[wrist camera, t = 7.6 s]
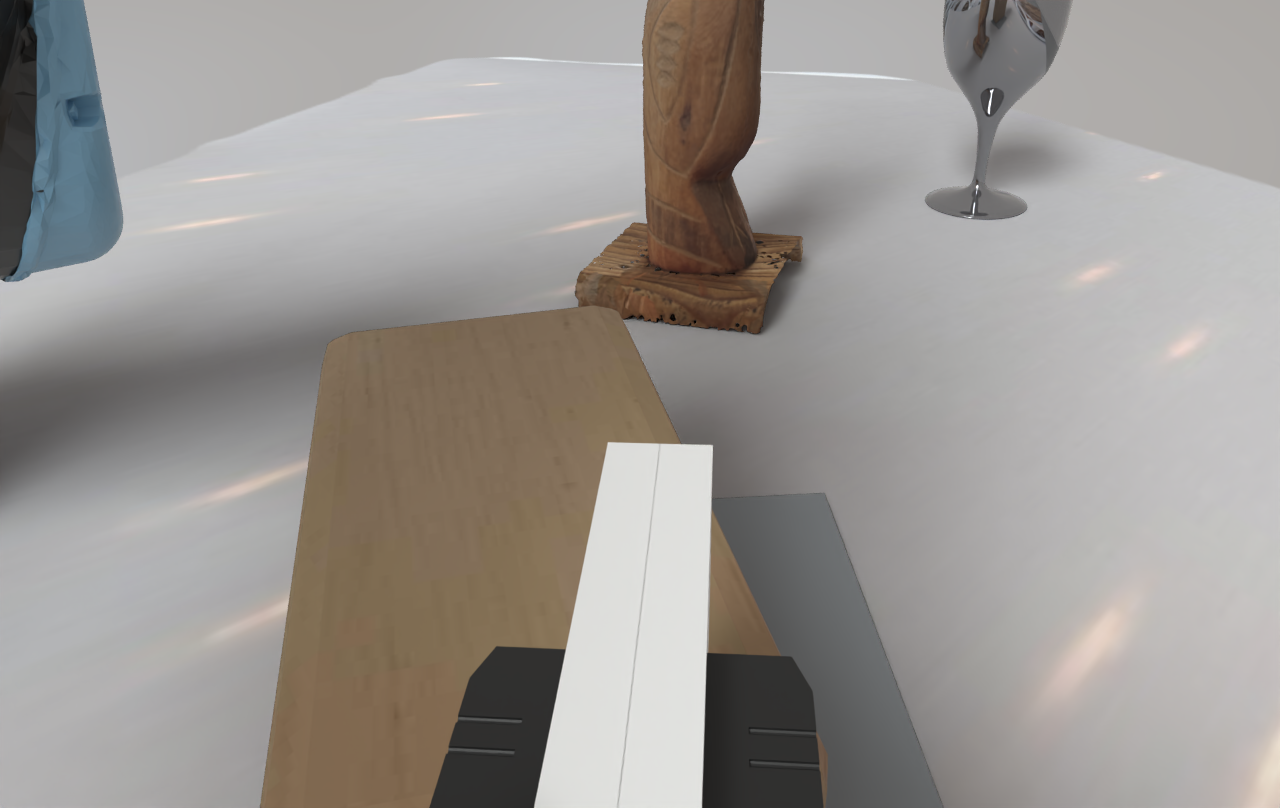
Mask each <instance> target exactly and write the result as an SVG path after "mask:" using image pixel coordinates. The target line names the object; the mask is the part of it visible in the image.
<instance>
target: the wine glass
mask: <svg viewBox="0 0 1280 808" xmlns="http://www.w3.org/2000/svg"><path fill="white" fill-rule="evenodd" d="M1072 3H1073V0H945V7H944V18H943V42H944V52H945V59H946V64H947V68H948V70H949V72H950V74H951V76H952V77H953V79H954V80H955V82H956V83H957V85H958V86H959V88H960V89H961V91H962V92H963V94H964V95H965V97H966V98H967V100H968V101H969V103H970V105H971V107H972V109H973V111H974V114H975V117H976V121H977V127H978V142H977V158H976V166H975V172H974V177H973V181H972V183H971V184H970V185H969V186H957V187H947V188H941V189H937V190H934V191H932V192H930V193H929V194H927V196H926V197H925V202H926V204H927V205H928V206H930V207H931V208H933V209H935V210H937V211H939V212H942V213H945V214H949V215H953V216H958V217H964V218H971V219H1002V218H1009V217H1014V216H1017V215H1019V214H1021V213H1023V212H1024V211H1025V210H1026V209H1027V204H1026V202H1025V201H1024V200H1023V199H1021V198H1020V197H1018V196H1016V195H1014V194H1011V193H1008V192H1005V191H1001V190H997V189H991V188H987V187H986V185H985V175H986V168H987V162H988V158H989V154H990V150H991V146H992V143H993V139H994V136H995V133H996V130H997V127H998V125H999V123H1000V121H1001V120H1002V118H1003V117H1004V115H1005V114H1006V113H1007V111H1008V110H1009V109H1010V108H1011V107H1012V106H1013V105H1014V104H1015V103H1016V102H1017V101H1018V100H1019V99H1020V98H1021V97H1022V96H1023V95H1025V94H1026V93H1027V92H1028V91H1029V90H1030V89H1031V88H1032V87H1033V86H1034V85H1035V84H1036V83H1038V82H1039V81H1040V80H1041V79H1042V77H1043V76H1044V75H1045V74H1046V73H1047V71H1048V70H1049V68H1050V66H1051V64H1052V62H1053V61H1054V58H1055V56H1056V54H1057V51H1058V49H1059V47H1060V44H1061V41H1062V39H1063V35H1064V33H1065V29H1066V27H1067V23H1068V20H1069V15H1070V11H1071V7H1072Z"/></svg>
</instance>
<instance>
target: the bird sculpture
mask: <svg viewBox="0 0 1280 808" xmlns="http://www.w3.org/2000/svg"><path fill="white" fill-rule="evenodd" d="M763 16H764V0H648V3H647V9H646V15H645V25H644V37H643V41H642V45H643V49H642V52H643V53H642V56H643V77H644V80H643V89H644V91H643V128H644V129H643V136H644V158H645V183H646V188H645V195H646V218H647V224H645V223H635V222H634V223H632V224H631V225H630V227H629V228H627V229H625V230H624V232H623V234H620V236H619V237H617V239H615V240H614V241H613V242H612V244H610V245H608V246H607V247H606V248H605V249H604V252H602V253H600V256H602V257H599V256H598V257H597V258H594V260H593V262H592V263H590V264H589V266H587V267H586V268H584V270H583V271H581V272H580V274H579V276H578V279H577V284H576V291H575V296H576V297H577V298H578V300H579V307H585V306H599V307H605V308H610V309H613V310H616V311H618V312H619V314H620V316H621V318H622V319H625V318H628V317H629V316H632V315H634V316H635V317H637V318H638V317H640V316H641V315H642V316H643V317H644V321H647V320H649V319H651V321H652V322H653V321H655V322H656V321H657V318H659V319H660V318H661V315H662V318H663V320H664V322H665V323H667V322H669V324H678V323H680V325H689V323H691V326H695V327H700V328H701V327H704V328H706V329H707V328H709V327H710V326H711V327H714V328H715V327H718V330H721V328H723V329H724V328H725V329H726V330H729V328H734V329H736V330H737V331H741V330H742V326H744V325H747V331H748V332H752V333H753V334H754V333H755V334H756V333H760V329H761V327H763V316H764V311H765V307H766V303H767V299H768V296H769V292H770V289H771V286H772V284H773V283H774V281H773V280H774V279H775V278H777V276H778V273H779V272H780V271H781V269H782V267H783V266H784V264H783V263H785V262H786V261H787V260H788V259H791V261H792V262H793V261H798V262H801V259H802V253H803V247H802V240H803V238H802V237H801V236H788V235H775V234H763V233H752V231H751V228H750V225H749V222H748V218H747V214H746V212H745V209H744V206H743V203H742V201H741V198H740V196H739V194H738V191H737V188H736V186H735V183H734V180H733V177H732V172H733V170H734V168H735V166H736V165H737V164H738V162H739V161H740V160H742V159H743V158H744V157H745V155H746V154H747V152H748V150H749V148H750V146H751V145H752V143H753V141H754V139H755V136H756V133H757V128H758V122H759V115H760V104H761V98H760V92H761V87H760V82H761V47H762V31H763V21H764V17H763ZM638 246H640V247H638ZM645 249H648V250H647V251H645ZM640 250H641V251H640ZM637 252H638V253H637ZM603 254H604V255H603ZM640 254H644V255H645V256H643V257H642V256H641V257H639V256H640ZM646 256H649V257H648V258H646ZM757 256H758V257H757ZM766 256H767V257H766ZM771 257H772V258H771ZM782 257H784V258H783V259H782ZM772 259H777V260H772ZM635 260H638V261H639V263H638V261H635ZM599 261H601V262H599ZM631 261H634V263H630V262H631ZM776 261H780V262H779V263H774V264H772V265H768V263H771V262H776ZM781 261H782V262H781ZM594 262H596V263H595V264H594ZM763 262H766V263H763ZM600 264H603V265H600ZM648 264H650V265H651V266H648ZM774 265H778V266H776V267H778V269H776V268H775V269H774ZM623 266H625V267H624V268H623ZM646 266H648V267H646ZM611 268H612V269H611ZM655 268H662V269H661V270H660V271H655ZM671 271H672V272H679V274H677V275H675V274H676V273H669V272H671ZM727 273H736V274H735V275H732V274H727ZM700 274H702V275H700ZM714 274H715V275H720V277H718V276H714ZM672 314H674V315H675V319H676V320H675V321H672V320H671V319H670V317H671V315H672ZM694 320H696V323H695V324H694ZM736 323H739V324H740V326H738V327H736ZM741 332H744V331H741Z"/></svg>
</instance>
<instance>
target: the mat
mask: <svg viewBox="0 0 1280 808" xmlns="http://www.w3.org/2000/svg"><path fill="white" fill-rule="evenodd" d="M712 510H713V512H714V514H715V516H716V518H717V520H718V523H719V525H720V527H721V529H722V531H723V533H724V535H725V537H726V540H727V542H728V544H729V546H730V548H731V550H732V552H733V554H734V557H735V559H736V561H737V563H738V565H739V567H740V569H741V571H742V574H743V576H744V578H745V580H746V582H747V584H748V586H749V588H750V591H751V593H752V595H753V597H754V599H755V601H756V603H757V605H758V608H759V610H760V612H761V614H762V616H763V618H764V620H765V622H766V624H767V627H768V629H769V631H770V633H771V635H772V637H773V639H774V641H775V644H776V646H777V648H778V650H779V652H780V654H781V656H791V657H792V658H793V659H794V661H795V663H796V664H797V666H798V668H799V669H800V671H801V672H802V674H803V676H804V677H805V679H806V681H807V682H808V684H809V686H810V687H811V689H812V691H813V698H814V709H815V720H816V731H817V733H818V735H819V737H820V739H821V741H822V743H823V746H824V748H825V750H826V752H827V754H828V774H827V796H826V805H825V808H943V805H942V803H941V800H940V797H939V795H938V792H937V790H936V787H935V784H934V782H933V779H932V776H931V774H930V771H929V768H928V766H927V763H926V760H925V758H924V755H923V753H922V750H921V747H920V745H919V742H918V739H917V737H916V734H915V731H914V729H913V726H912V724H911V721H910V718H909V716H908V713H907V710H906V708H905V705H904V702H903V700H902V697H901V694H900V692H899V689H898V687H897V684H896V681H895V679H894V676H893V673H892V671H891V668H890V665H889V663H888V660H887V658H886V655H885V652H884V650H883V647H882V644H881V642H880V639H879V636H878V634H877V631H876V628H875V626H874V623H873V621H872V618H871V615H870V613H869V610H868V607H867V605H866V602H865V599H864V597H863V594H862V592H861V589H860V586H859V584H858V581H857V578H856V576H855V573H854V570H853V568H852V565H851V562H850V560H849V557H848V555H847V552H846V549H845V547H844V544H843V541H842V539H841V536H840V533H839V531H838V528H837V526H836V523H835V520H834V518H833V515H832V512H831V510H830V507H829V504H828V502H827V499H826V496H825V494H824V493H813V494H793V495H774V496H755V497H736V498H717V499H712Z"/></svg>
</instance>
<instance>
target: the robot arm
mask: <svg viewBox="0 0 1280 808" xmlns="http://www.w3.org/2000/svg"><path fill="white" fill-rule="evenodd" d="M122 228H123V211H122V205H121V200H120V194H119V188H118V183H117V178H116V173H115V168H114V163H113V157H112V152H111V147H110V142H109V137H108V132H107V127H106V121H105V115H104V110H103V105H102V100H101V93H100V88H99V82H98V77H97V72H96V66H95V60H94V55H93V49H92V43H91V38H90V32H89V27H88V22H87V17H86V11H85V6H84V1H83V0H0V280H3V281H5V282H14V281H20V280H23V279H25V278H27V277H29V276H30V274H31V273H34V272H39V271H44V270H49V269H54V268H59V267H64V266H69V265H74V264H79V263H84V262H88V261H92V260H95V259H97V258H99V257H101V256H103V255H104V254H106V253H107V252H108V251H109V250H110V249H111V248H112V247H113V246H114V245H115V244H116V242H117V241H118V239H119V237H120V235H121V232H122ZM712 465H713V445H691V444H653V443H615V442H608V445H607V450H606V455H605V460H604V464H603V469H602V474H601V479H600V484H599V489H598V494H597V499H596V504H595V509H594V514H593V519H592V524H591V529H590V534H589V539H588V543H587V548H586V553H585V558H584V563H583V568H582V573H581V578H580V583H579V588H578V593H577V598H576V603H575V608H574V613H573V618H572V623H571V627H570V632H569V637H568V642H567V647H566V649H550V648H527V647H504V646H496V647H495V648H494V650H493V651H492V652H491V653H490V654H489V655H488V657H487V658H486V659H485V660H484V661H483V662H482V664H481V665H480V666H479V667H478V668H477V669H476V671H475V672H474V673H473V674H472V675H471V676H470V678H469V681H468V684H467V687H466V691H465V694H464V697H463V700H462V703H461V707H460V710H459V713H458V721H457V722H456V723H455V726H454V729H453V733H452V736H451V739H450V742H449V745H448V747H449V749H448V754H446V755H445V758H444V762H443V765H442V768H441V771H440V775H439V778H438V781H437V784H436V787H435V791H434V794H433V797H432V800H431V804H430V807H429V808H824V805H823V794H822V783H821V773H820V769H819V763H820V762H819V751H818V741H817V737H816V720H815V709H814V698H813V691H812V689H811V687H810V686H809V684H808V682H807V681H806V679H805V677H804V676H803V674H802V672H801V671H800V669H799V668H798V666H797V664H796V663H795V661H794V659H793V658H792V657H791V656H768V655H745V654H722V653H708V643H709V608H710V565H711V515H712Z"/></svg>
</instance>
